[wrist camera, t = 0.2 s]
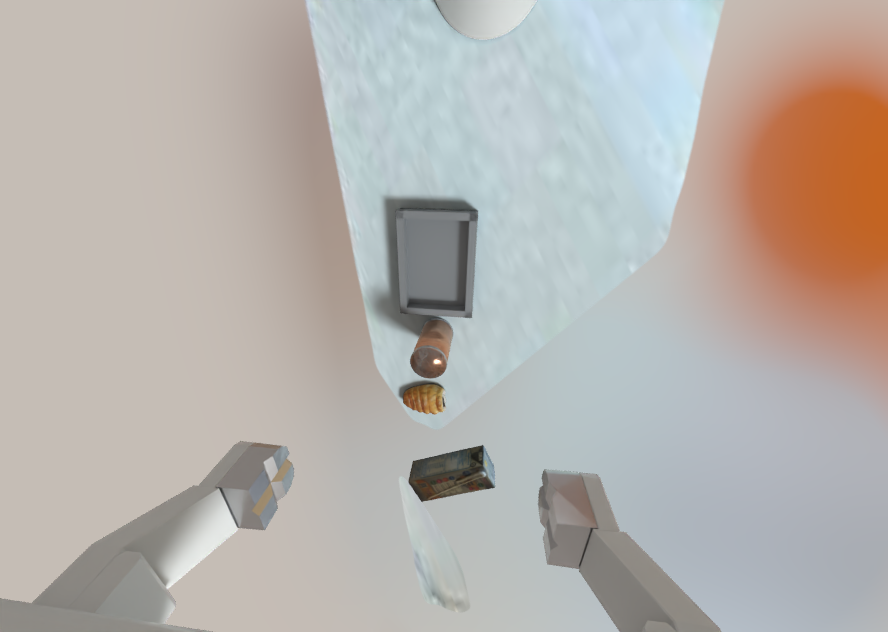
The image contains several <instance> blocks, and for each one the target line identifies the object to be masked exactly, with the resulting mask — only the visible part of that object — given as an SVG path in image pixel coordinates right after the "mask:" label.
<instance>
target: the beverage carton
mask: <svg viewBox="0 0 888 632" xmlns="http://www.w3.org/2000/svg"><path fill="white" fill-rule="evenodd" d="M409 484H410V485H411V486H412V488H413V490H414V491H415V493H416V494H417V495H418V497H419V499H420V500H421V502H423V501H428V500H433V499H437V498H443V497H447V496H453V495H457V494H462V493H468V492H474V491H478V490H483V489H490V488H495V471H494V465H493V463H492V461H491V459H490V457H489V455H488V453H487V451H486V449H485V447H484V446H483V445H482V446H478V447H473V448H468V449H464V450H459V451H455V452H451V453H446V454H442V455H438V456H434V457H429V458H425V459H420V460H416V461H413V464H412V468H411V472H410V477H409Z"/></svg>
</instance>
